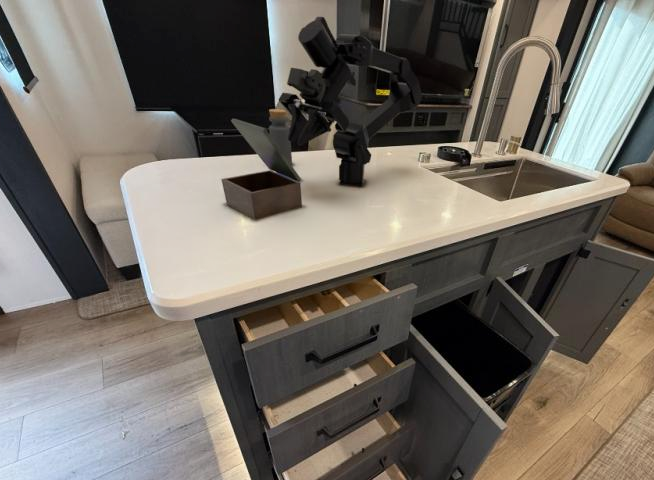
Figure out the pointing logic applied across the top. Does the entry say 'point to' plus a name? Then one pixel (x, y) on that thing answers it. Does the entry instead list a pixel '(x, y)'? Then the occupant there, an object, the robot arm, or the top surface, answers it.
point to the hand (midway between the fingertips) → (294, 142)
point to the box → (262, 194)
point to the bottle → (280, 132)
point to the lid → (266, 148)
